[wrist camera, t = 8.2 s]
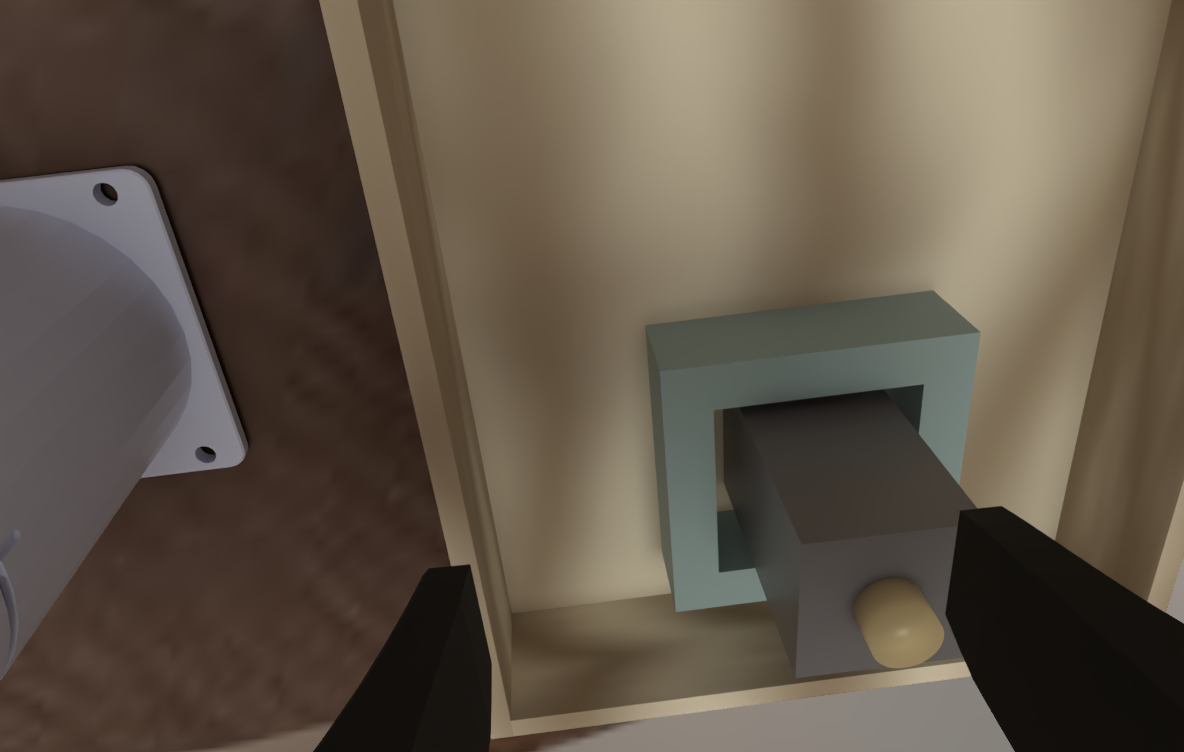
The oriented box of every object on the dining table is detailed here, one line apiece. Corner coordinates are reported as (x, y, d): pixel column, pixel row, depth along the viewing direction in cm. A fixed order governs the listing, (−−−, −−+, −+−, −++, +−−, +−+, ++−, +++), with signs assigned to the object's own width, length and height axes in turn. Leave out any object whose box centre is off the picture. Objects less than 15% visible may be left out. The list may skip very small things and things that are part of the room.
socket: (662, 551, 25) (676, 612, 22) (645, 324, 21) (659, 371, 19) (908, 519, 25) (946, 577, 23) (933, 290, 21) (980, 332, 19)
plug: (723, 482, 24) (810, 717, 17) (722, 371, 22) (818, 581, 15) (849, 468, 24) (987, 695, 17) (857, 355, 22) (1016, 557, 15)
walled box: (496, 616, 26) (491, 739, 22) (342, -123, 17) (286, -138, 13) (1058, 544, 26) (1153, 652, 23) (1227, -220, 17) (1443, -265, 13)
